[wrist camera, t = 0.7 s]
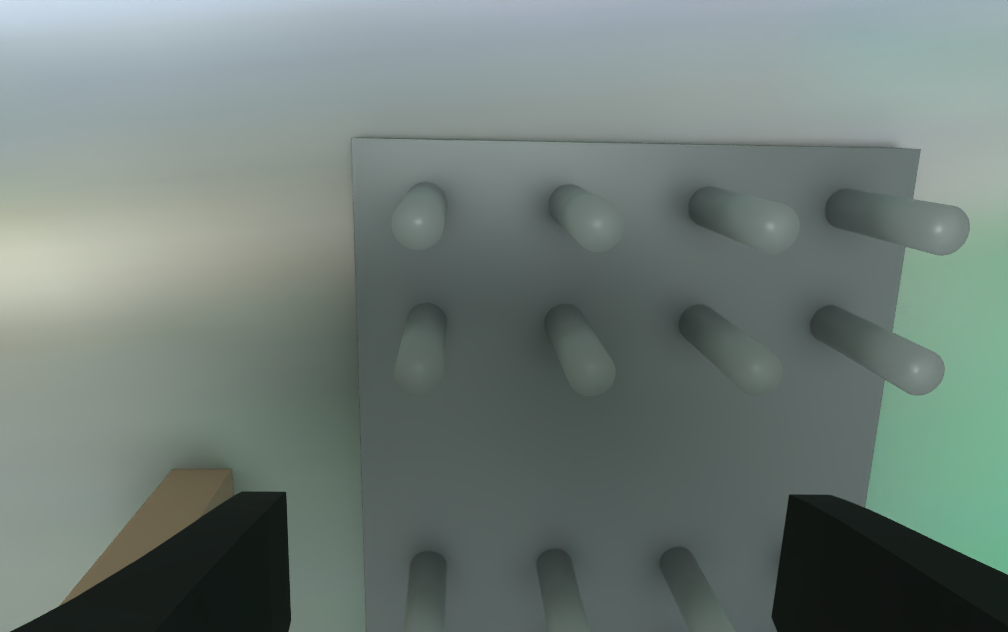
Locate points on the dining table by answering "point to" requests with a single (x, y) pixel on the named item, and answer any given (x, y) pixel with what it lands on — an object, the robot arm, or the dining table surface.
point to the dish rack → (618, 371)
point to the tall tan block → (161, 519)
